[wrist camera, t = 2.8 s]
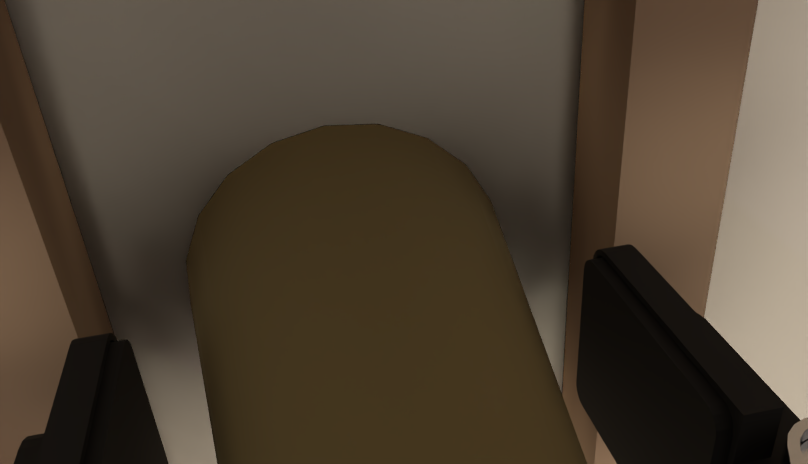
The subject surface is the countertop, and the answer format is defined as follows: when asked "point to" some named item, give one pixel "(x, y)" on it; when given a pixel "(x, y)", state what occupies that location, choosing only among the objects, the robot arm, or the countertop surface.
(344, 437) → the cork
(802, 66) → the countertop surface
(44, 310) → the walnut track
